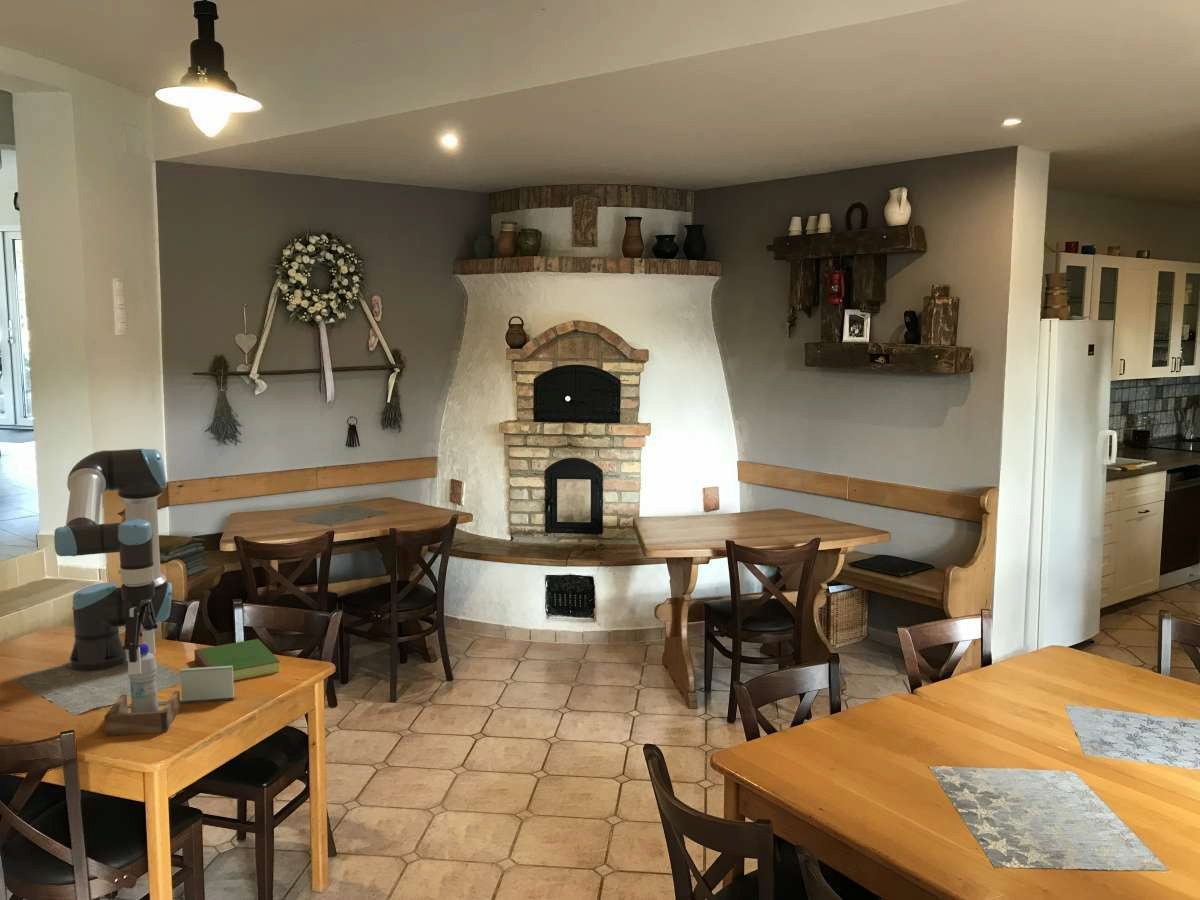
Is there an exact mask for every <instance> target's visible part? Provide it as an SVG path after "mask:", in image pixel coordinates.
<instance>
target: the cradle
mask: <svg viewBox="0 0 1200 900" xmlns="http://www.w3.org/2000/svg"><path fill="white" fill-rule="evenodd" d="M180 693H181V692H180V690H174V691H173V693H172V694H171V696H170V698H168V700H167V701H158V706H164V707H163V708H162V710H159V711H153V712H139V713H131V712H128V711H129V709H128V708H131V703H129V705H128V694H127V693H126V694H125V693H124V694H121V695H120V696H119V697H118V698H117V700H116V701H115V703H114V704H112V706H111V707H110V709H109V710H108V712H106V714H105V715H104V717H103V719H104V720H103V721H104V733H105V735H104V736H105V737H113V736H127V735H139V734H141V735H142V734H155V733H166V732H167V733H168V730H169V729H170V727H171V726H172V724H173V722H174V720H175V718H176V717H177V715H178V713H179V712H180V710H181V704H182V705H183V704H185V705H186V704H198V703H211V702H212V703H213V702H215V703H216V702H225V701H227V700H229V701H235V699H236V696H234V697H233V698H222V699H208V700H193V701H182V699H181V698H180V697H181V696H180Z"/></svg>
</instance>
